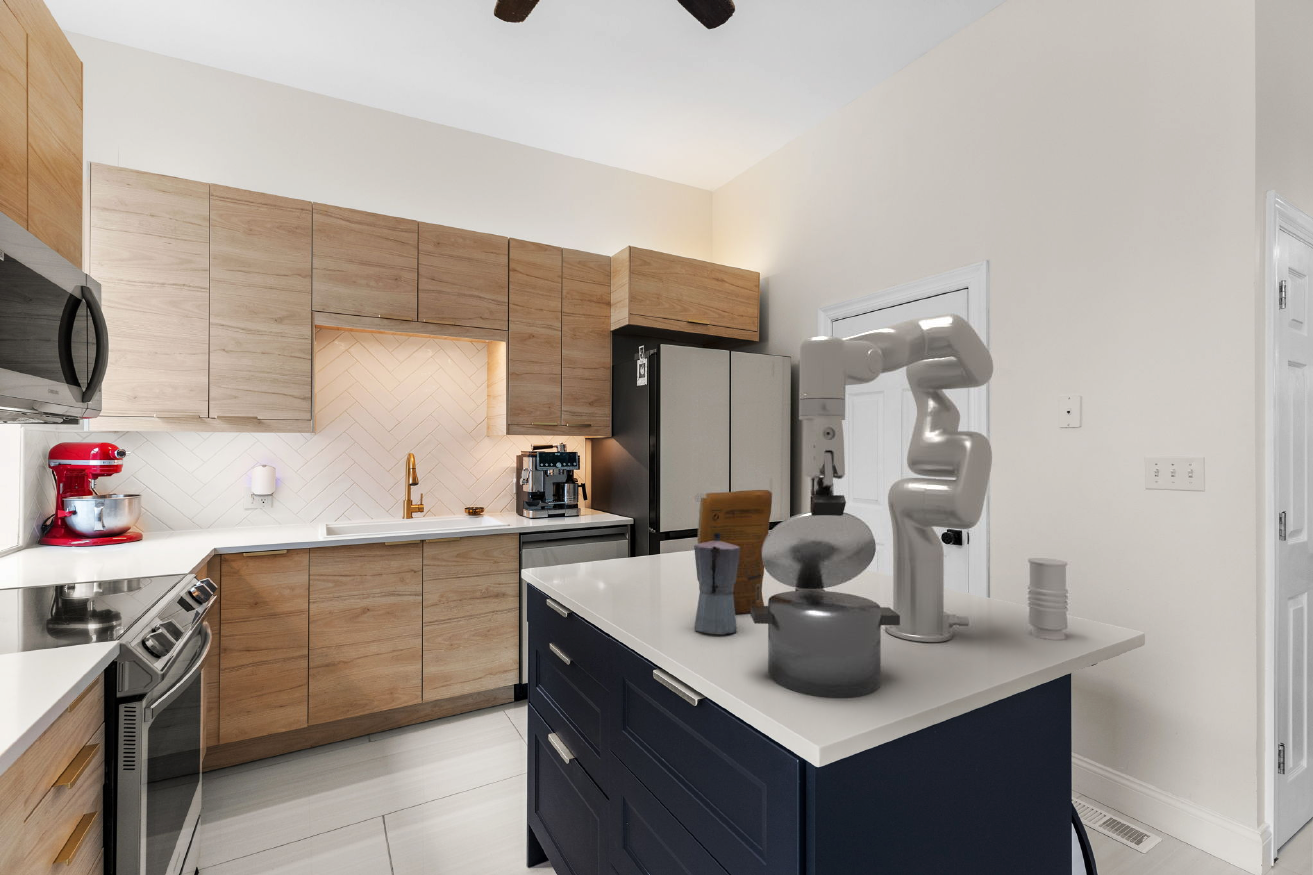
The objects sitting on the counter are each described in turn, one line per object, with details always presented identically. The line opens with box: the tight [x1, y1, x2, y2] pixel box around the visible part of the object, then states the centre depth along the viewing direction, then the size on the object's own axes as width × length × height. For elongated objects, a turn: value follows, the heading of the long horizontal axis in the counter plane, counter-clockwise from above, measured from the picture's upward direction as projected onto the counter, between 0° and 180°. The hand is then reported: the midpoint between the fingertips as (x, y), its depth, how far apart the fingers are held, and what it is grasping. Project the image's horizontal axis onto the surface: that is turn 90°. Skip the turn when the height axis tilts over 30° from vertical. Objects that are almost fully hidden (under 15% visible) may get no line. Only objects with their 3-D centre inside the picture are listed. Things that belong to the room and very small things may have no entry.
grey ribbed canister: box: [1027, 557, 1069, 641], centre depth 125 cm, size 7×7×15 cm
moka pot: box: [693, 533, 740, 635], centre depth 127 cm, size 10×15×20 cm, turn 174°
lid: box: [761, 494, 877, 589], centre depth 106 cm, size 22×19×4 cm
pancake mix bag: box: [696, 489, 773, 615], centre depth 141 cm, size 7×19×28 cm, turn 107°
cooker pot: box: [750, 587, 900, 699], centre depth 103 cm, size 23×20×12 cm
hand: (820, 520), depth 103 cm, fingers closed
